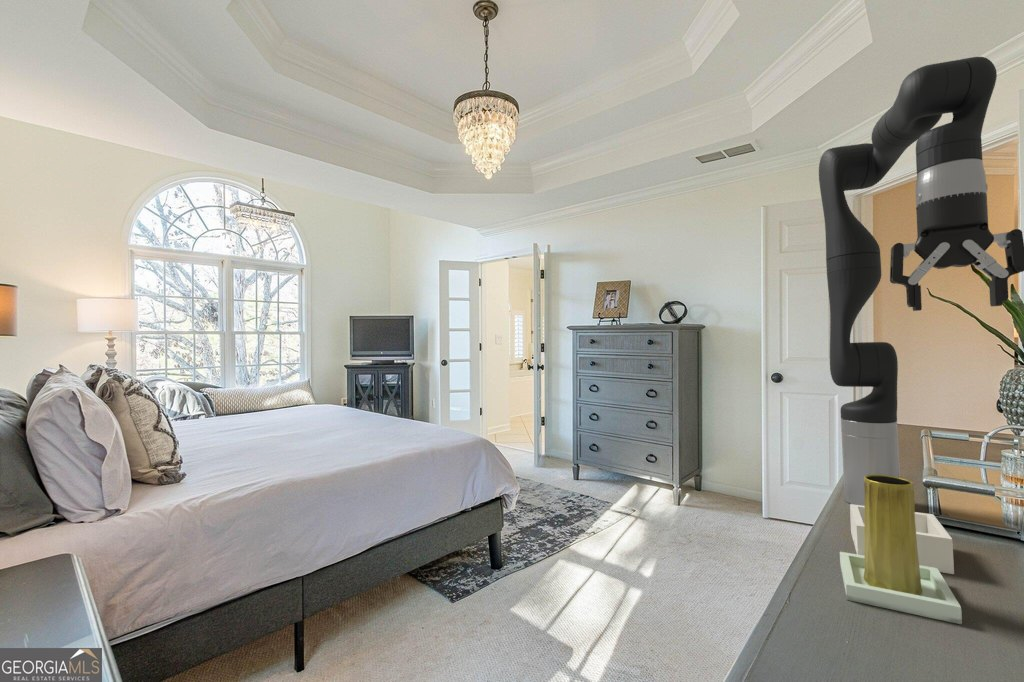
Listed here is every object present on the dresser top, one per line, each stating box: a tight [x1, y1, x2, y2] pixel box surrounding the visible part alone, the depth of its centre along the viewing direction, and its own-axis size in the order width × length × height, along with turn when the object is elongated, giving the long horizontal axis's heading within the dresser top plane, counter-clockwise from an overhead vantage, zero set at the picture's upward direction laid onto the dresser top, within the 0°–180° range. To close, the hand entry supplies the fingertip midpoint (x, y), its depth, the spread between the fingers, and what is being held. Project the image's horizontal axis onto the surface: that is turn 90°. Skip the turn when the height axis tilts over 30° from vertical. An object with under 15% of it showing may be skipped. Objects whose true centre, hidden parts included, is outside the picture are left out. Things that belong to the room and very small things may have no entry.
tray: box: [839, 551, 963, 625], centre depth 61 cm, size 11×11×2 cm
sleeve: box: [849, 503, 955, 575], centre depth 73 cm, size 11×11×5 cm
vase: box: [864, 474, 922, 595], centre depth 62 cm, size 6×6×14 cm
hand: (955, 308), depth 67 cm, fingers open, 8 cm apart
